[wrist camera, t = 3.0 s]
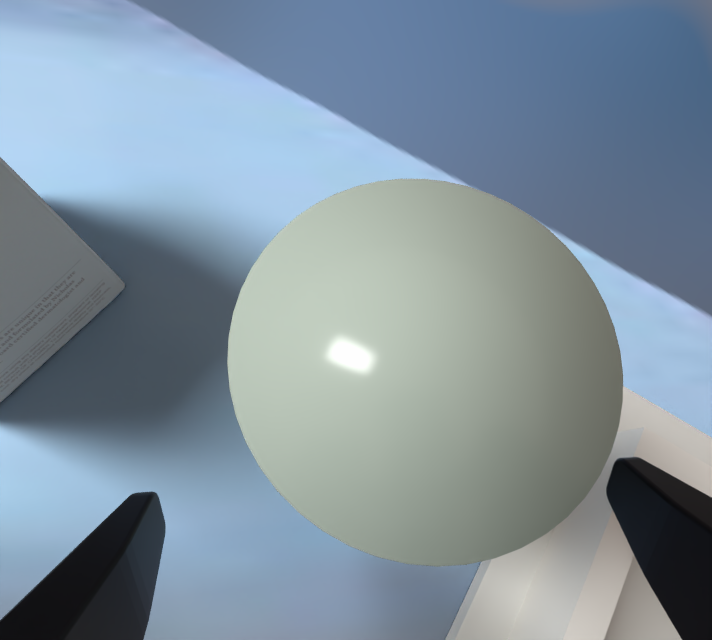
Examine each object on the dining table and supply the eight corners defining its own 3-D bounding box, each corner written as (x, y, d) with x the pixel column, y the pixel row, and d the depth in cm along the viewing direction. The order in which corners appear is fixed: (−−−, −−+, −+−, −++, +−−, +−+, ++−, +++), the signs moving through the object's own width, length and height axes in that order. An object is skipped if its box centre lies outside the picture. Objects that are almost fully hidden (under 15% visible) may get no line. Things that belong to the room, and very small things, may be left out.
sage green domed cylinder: (442, 467, 18) (705, 425, 5) (331, 534, 17) (350, 668, 4) (379, 359, 19) (480, 132, 7) (273, 416, 18) (165, 266, 6)
